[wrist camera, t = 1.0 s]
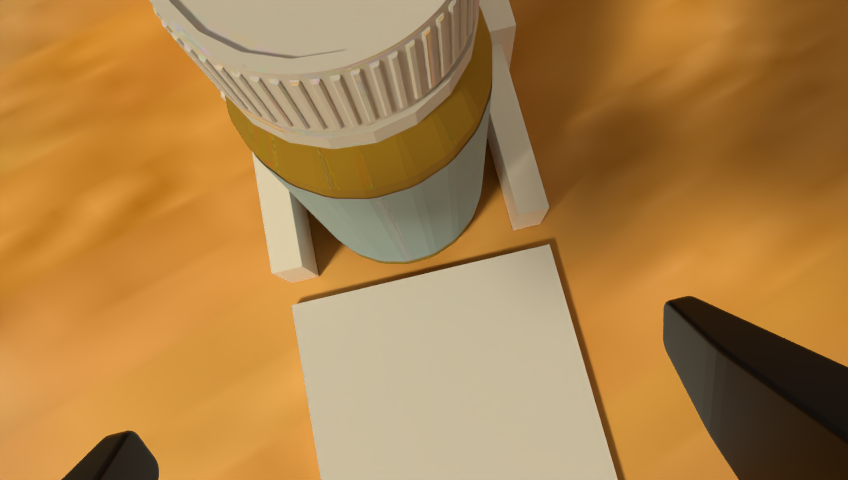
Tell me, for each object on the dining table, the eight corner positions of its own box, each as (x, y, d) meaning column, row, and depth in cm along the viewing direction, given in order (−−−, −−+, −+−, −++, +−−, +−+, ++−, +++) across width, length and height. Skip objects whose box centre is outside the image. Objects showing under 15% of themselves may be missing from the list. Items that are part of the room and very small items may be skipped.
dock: (553, 221, 23) (570, 193, 20) (279, 286, 23) (244, 271, 20) (498, 34, 25) (503, -23, 22) (247, 94, 26) (211, 49, 22)
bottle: (306, 141, 25) (84, -178, 10) (453, 96, 25) (440, -285, 10) (343, 287, 23) (142, 154, 9) (501, 240, 23) (566, 27, 9)
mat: (628, 525, 20) (632, 528, 20) (342, 590, 21) (340, 595, 20) (547, 246, 23) (549, 244, 23) (294, 306, 23) (291, 305, 23)
